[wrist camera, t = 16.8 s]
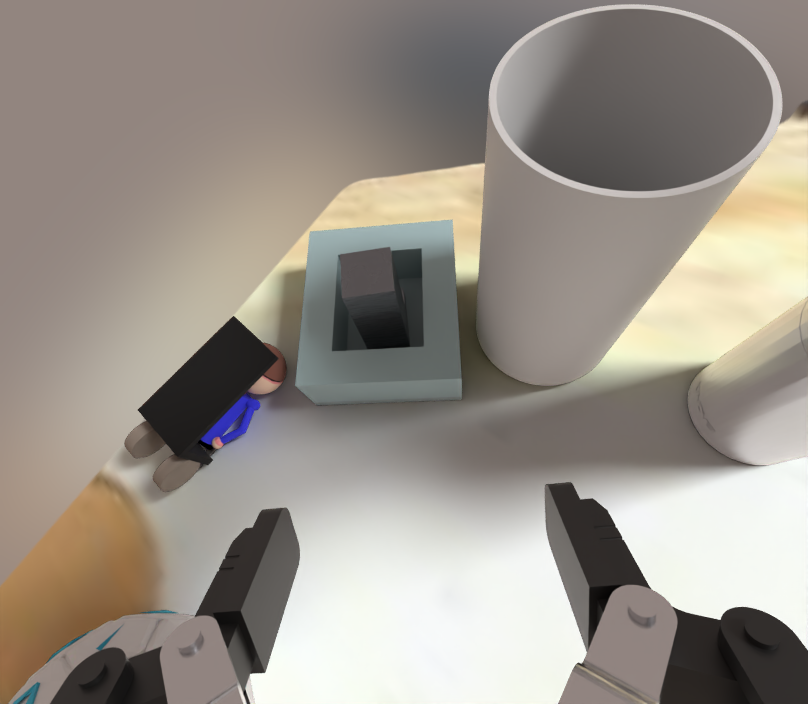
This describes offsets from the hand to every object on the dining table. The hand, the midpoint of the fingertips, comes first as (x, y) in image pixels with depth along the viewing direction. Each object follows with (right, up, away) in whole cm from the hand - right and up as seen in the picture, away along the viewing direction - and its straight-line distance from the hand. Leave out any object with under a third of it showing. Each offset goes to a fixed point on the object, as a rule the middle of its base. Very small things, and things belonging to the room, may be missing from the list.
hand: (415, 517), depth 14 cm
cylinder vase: (+13, +7, +30) cm, 33 cm away
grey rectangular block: (-2, +7, +30) cm, 31 cm away
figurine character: (-17, -1, +30) cm, 35 cm away
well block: (-2, +8, +32) cm, 32 cm away
